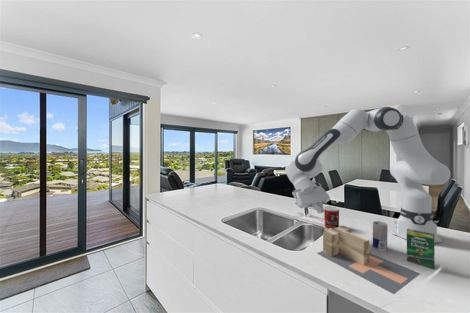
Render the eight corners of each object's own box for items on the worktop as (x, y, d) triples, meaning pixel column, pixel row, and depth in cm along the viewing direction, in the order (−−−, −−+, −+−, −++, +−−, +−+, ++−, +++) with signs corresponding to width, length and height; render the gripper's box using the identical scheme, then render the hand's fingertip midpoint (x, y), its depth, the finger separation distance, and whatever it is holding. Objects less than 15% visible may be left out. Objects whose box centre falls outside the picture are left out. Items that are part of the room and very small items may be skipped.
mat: (344, 243, 95) (344, 242, 95) (420, 275, 71) (420, 273, 71) (316, 254, 86) (316, 253, 86) (393, 295, 61) (393, 294, 61)
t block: (342, 244, 93) (342, 225, 93) (375, 258, 81) (376, 236, 81) (323, 252, 86) (323, 232, 86) (356, 269, 74) (356, 245, 74)
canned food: (324, 228, 113) (325, 209, 113) (323, 223, 121) (323, 205, 120) (339, 230, 111) (340, 211, 110) (337, 225, 118) (338, 207, 118)
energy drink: (373, 245, 93) (373, 220, 93) (387, 248, 90) (387, 222, 90) (371, 249, 89) (372, 223, 89) (386, 253, 86) (387, 226, 85)
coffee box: (405, 261, 80) (406, 229, 79) (407, 259, 82) (407, 227, 81) (433, 271, 73) (434, 236, 73) (434, 268, 75) (435, 234, 75)
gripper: (294, 186, 95) (310, 212, 87) (322, 183, 105) (339, 205, 97) (287, 194, 99) (302, 219, 91) (315, 190, 109) (331, 212, 101)
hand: (322, 212), depth 94 cm, fingers closed
